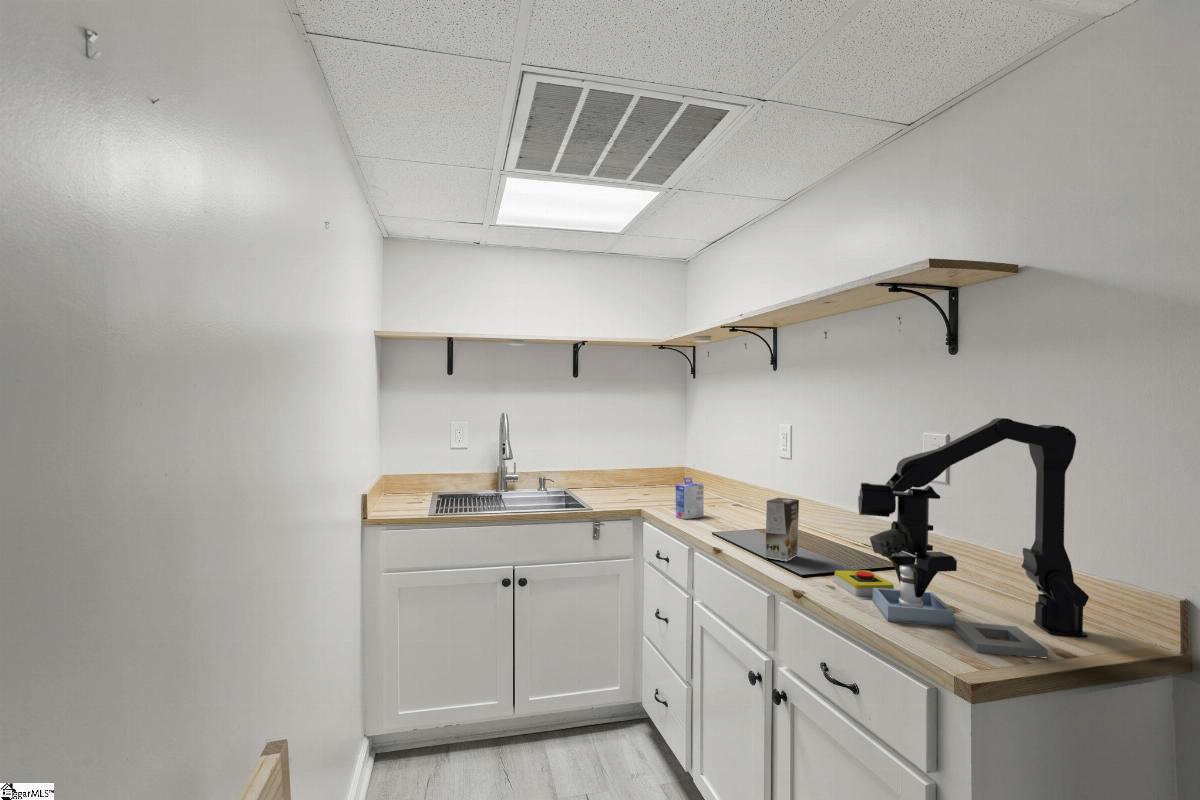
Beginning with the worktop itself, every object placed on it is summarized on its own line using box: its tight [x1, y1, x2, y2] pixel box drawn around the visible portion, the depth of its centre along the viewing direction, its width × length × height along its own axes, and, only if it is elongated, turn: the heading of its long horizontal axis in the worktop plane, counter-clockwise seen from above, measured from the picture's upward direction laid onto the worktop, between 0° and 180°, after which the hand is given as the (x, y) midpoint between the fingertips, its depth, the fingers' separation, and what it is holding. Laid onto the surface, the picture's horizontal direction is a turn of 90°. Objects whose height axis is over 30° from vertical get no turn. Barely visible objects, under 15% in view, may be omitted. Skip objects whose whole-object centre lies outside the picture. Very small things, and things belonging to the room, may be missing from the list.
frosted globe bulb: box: [899, 564, 923, 608], centre depth 123 cm, size 4×4×8 cm
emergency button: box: [829, 570, 895, 600], centre depth 139 cm, size 9×4×15 cm
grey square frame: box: [952, 620, 1049, 658], centre depth 108 cm, size 11×11×2 cm
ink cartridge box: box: [675, 477, 705, 520], centre depth 220 cm, size 10×6×14 cm, turn 124°
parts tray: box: [872, 588, 955, 628], centre depth 123 cm, size 12×12×3 cm
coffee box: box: [764, 497, 800, 560], centre depth 165 cm, size 9×6×16 cm
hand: (911, 593), depth 123 cm, fingers closed on frosted globe bulb, 4 cm apart
